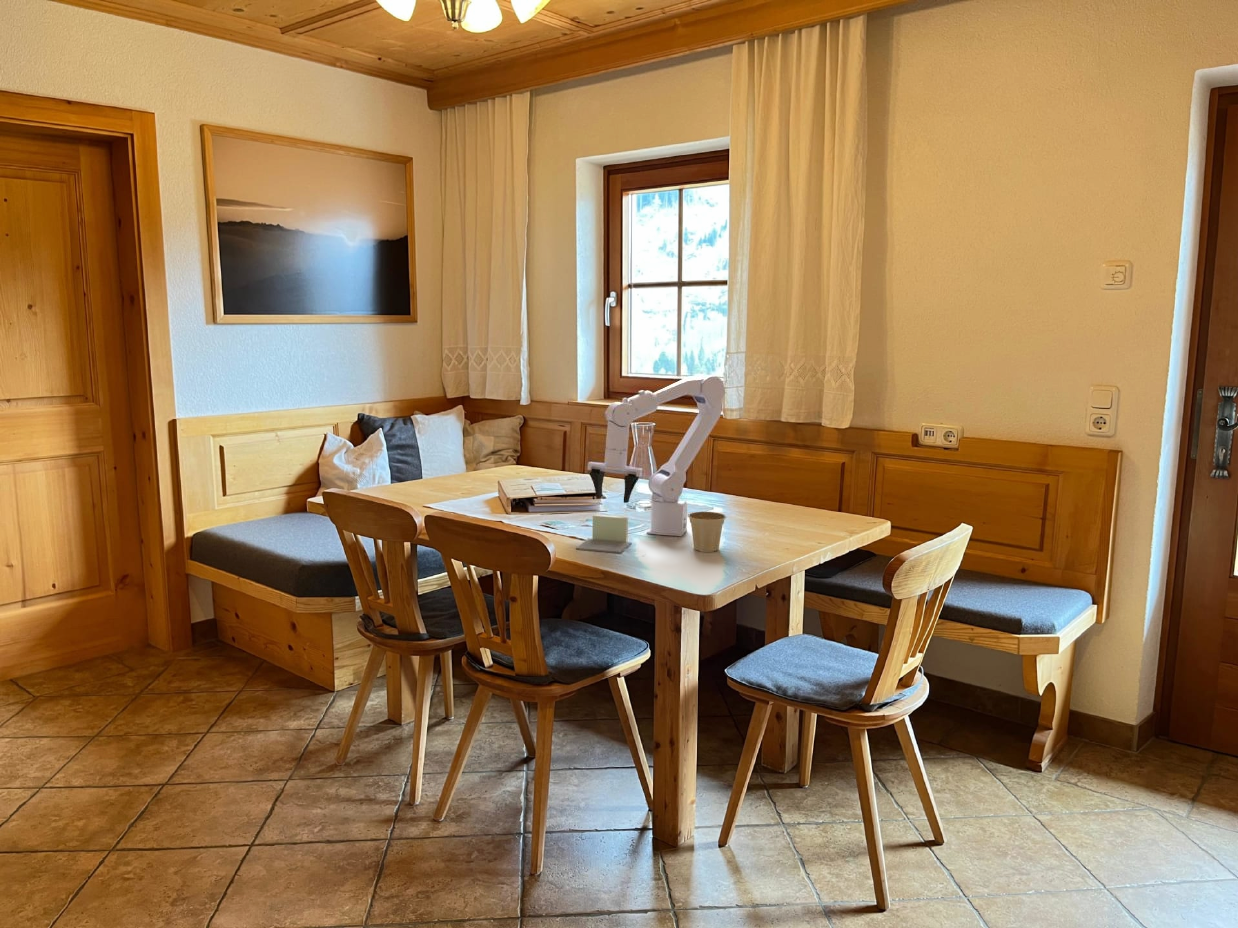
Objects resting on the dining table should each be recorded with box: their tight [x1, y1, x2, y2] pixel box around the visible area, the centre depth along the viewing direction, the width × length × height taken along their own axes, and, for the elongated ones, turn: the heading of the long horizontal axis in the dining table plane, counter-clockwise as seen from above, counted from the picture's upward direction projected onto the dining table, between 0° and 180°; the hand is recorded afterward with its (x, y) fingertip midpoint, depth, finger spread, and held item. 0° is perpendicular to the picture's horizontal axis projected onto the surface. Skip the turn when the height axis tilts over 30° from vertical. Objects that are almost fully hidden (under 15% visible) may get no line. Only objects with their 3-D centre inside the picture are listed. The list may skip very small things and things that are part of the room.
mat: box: [575, 538, 632, 554], centre depth 233 cm, size 12×10×1 cm
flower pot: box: [687, 511, 727, 553], centre depth 231 cm, size 9×9×9 cm
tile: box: [591, 514, 629, 542], centre depth 238 cm, size 9×2×6 cm, turn 74°
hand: (612, 500), depth 243 cm, fingers open, 7 cm apart
